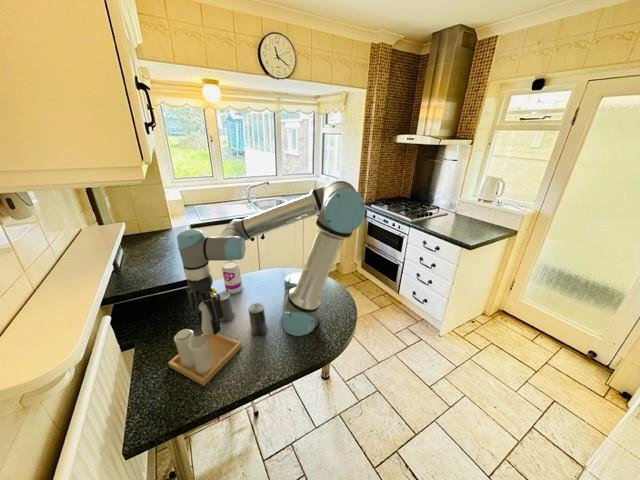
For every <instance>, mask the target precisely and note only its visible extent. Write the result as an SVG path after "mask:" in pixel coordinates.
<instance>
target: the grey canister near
mask: <svg viewBox="0 0 640 480" xmlns="http://www.w3.org/2000/svg"><path fill="white" fill-rule="evenodd" d="M248 317H249V323H250V329H251V335H254V336H256V337H261V336H264V335H265V334H266V332H267V323H266V314H265V306H264V304H262V303H261V302H260V303H258V302H257V303H253V304H251V305H250V306H249V307H248Z"/></svg>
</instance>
